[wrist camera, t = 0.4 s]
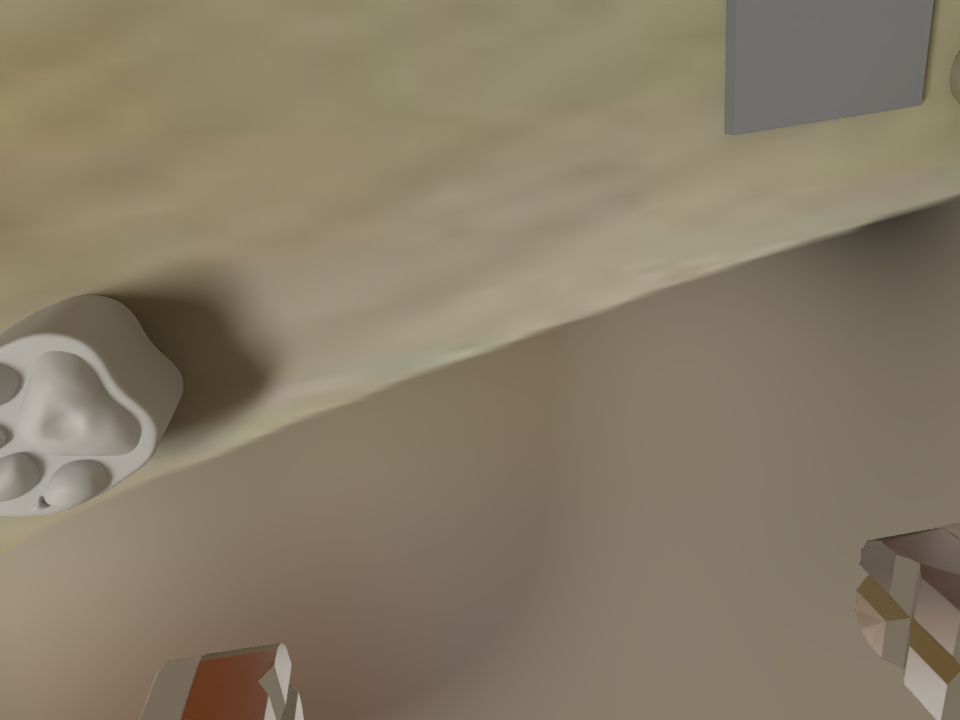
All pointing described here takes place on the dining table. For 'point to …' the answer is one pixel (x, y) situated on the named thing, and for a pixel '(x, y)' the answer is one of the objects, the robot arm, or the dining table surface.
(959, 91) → the white lidded jar
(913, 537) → the robot arm
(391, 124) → the dining table surface
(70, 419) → the lumpy-topped squat cylinder
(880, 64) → the serving board
